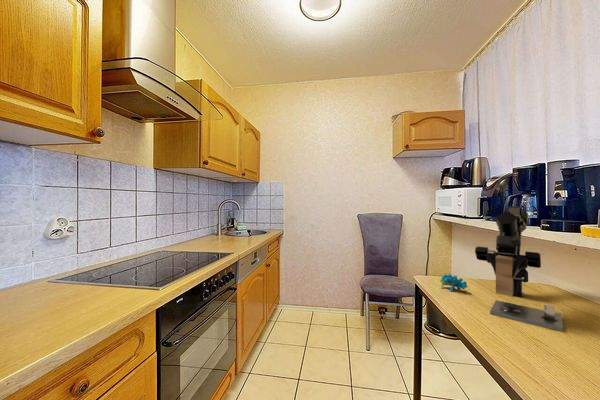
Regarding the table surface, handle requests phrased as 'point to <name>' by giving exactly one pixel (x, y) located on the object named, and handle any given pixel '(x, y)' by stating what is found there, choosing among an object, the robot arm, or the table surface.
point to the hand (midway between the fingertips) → (504, 275)
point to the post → (504, 275)
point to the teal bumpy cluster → (452, 282)
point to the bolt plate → (529, 314)
